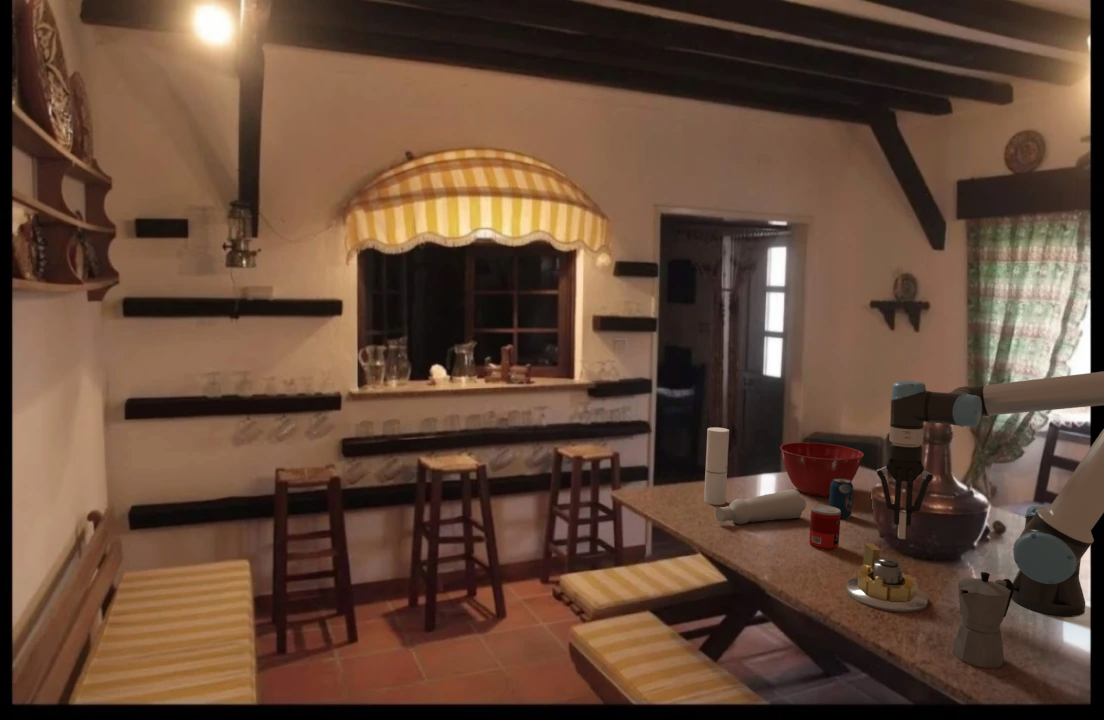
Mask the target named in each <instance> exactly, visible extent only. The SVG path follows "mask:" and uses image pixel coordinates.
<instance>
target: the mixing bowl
mask: <svg viewBox="0 0 1104 720" xmlns="http://www.w3.org/2000/svg"><path fill="white" fill-rule="evenodd" d="M779 448H780V449H779V450H780V451H781V452H780V453H781V455H782V460H783V461H782V462H783V465H784V467H785V471H786V473H787V476H788V477H789V480H790V481H791V483H792V485H793V486H794V487H795V488H797V489H798V490H799V492H800V493H804V494H806V495H810V496H816V497H830V484H831V482H832V481H833V478H845V479H849V480H851V481H852V482H853V480H854V479H855V476H856V474H857V472H858V470H859V468H860V465H861V461H862V460H863V457H864V455H865V454H864V453H863V452H862V451H861V450H859V449H855V448H852V447H849V446H844V445H839V444H831V443H822V442H806V441H805V442H803V441H802V442H789V443H784V444H782V445H780V446H779Z"/></svg>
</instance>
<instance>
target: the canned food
mask: <svg viewBox="0 0 1104 720" xmlns="http://www.w3.org/2000/svg"><path fill="white" fill-rule="evenodd" d="M840 518H841V510H840V509H838V508H835V507H832V506H829V505H826V504H825V505H824V504H815V505H812V506H811V511H810V522H809V523H810V524H809V539H808V540H809V541H808V542H809V545H810V546H811V548H814V547H815V549H817V548H818V549H817V550H821V549H824V550H823V551H835V550H834V549H836V550H838V548H839V546H840V545H839V543H840V530H841V519H840Z"/></svg>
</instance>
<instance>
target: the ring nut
mask: <svg viewBox="0 0 1104 720" xmlns="http://www.w3.org/2000/svg"><path fill="white" fill-rule="evenodd" d="M881 554H882V549H881V548H880V547H878V546H877V545H875V543H873V542H871V543H870V542H864V548H863V559H862V560H863V561H862V565H861V566H860V572H858V573H857V578H858V584H857V585H858V587H859V588H860V589H861V590H862V591H863V592H864V593H867V594H868V595H870V596H874V597H877V598H880V599H884V600H887V599H888V600H890V601H908V600H911V599H913V598H914V597H915V596H916V594H917V588H918V581H916V578H915V577H912V576H910V575H909V574H906V573H904V572H903V573H902V585H886V584H885V578H883V577H880V576H877V577H875V580H874V581H873V570H874V561H875V560H879V558H880V557H882V556H881Z"/></svg>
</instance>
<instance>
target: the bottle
mask: <svg viewBox="0 0 1104 720" xmlns="http://www.w3.org/2000/svg"><path fill="white" fill-rule="evenodd" d="M800 493H801V491H797V489H793V488H792V489H786V490H785V489H784V490H779V491H776V492H773V493H768V494H764V495H763V494H762V495H759V496H754V497H748V498H746V499H742V498H736V499H734V500H733V501H731V502H730V504H729V505H727V506H724V507H723V506H719V507H717V508H716V509H715V517H716V520H717V521H718V522H720V523H723V522H727V521H729V522H731V521H732V522H733V523H735V524H737V525H740V526H742V525H745V524H747V523H748V522H749V523H751V522H752V523H755V522H764V521H766V522H767V521H775V520H789V519H791V520H792V519H795V518H797V519H798V518H800V517H801V516H802V515H803V512H804V510H806V509H807V507H806V506H807V504H806V499H804V498H803V497H801V496H800V495H801V494H800Z"/></svg>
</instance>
